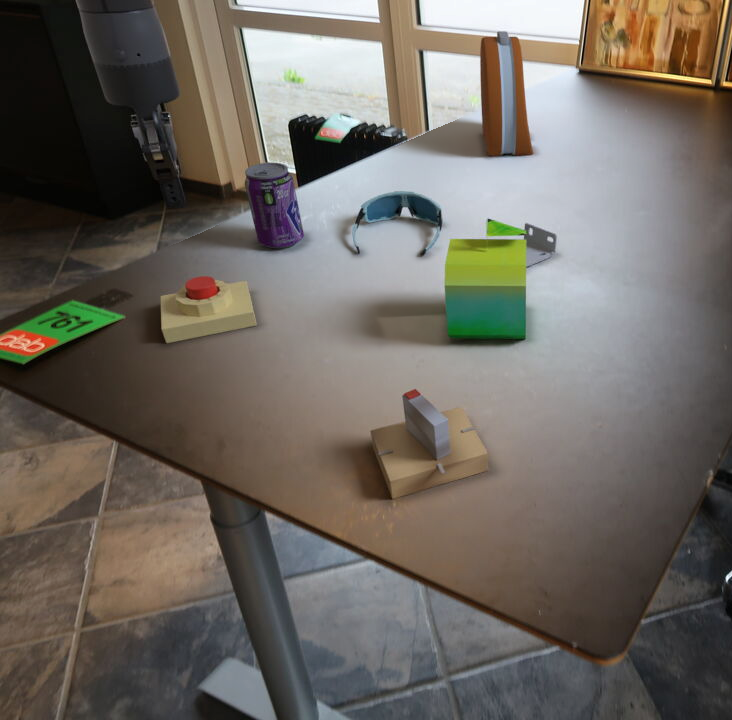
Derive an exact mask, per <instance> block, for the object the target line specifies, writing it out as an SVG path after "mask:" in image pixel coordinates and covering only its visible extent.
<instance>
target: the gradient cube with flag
mask: <svg viewBox="0 0 732 720" xmlns="http://www.w3.org/2000/svg"><path fill="white" fill-rule="evenodd" d="M485 227H486V228H485V231H486V234H485V235H486V237H511V236H512V237H514V236H515V237H516V236H517V237H518V236H519V237H520V236H524V235H526V230H524V229H522V228H519V227H516V226H513V225H510V224H507V223H504V222H501V221H498V220H494V219H491V218H487V219H486V220H485ZM526 242H527V241H526V239H524V238H523V239H522V238H521V239H520V238H519V239H516V238H515V239H514V238H512V239H511V238H510V239H509V238H497V239H496V238H450V239H449V243H448V247H447V253H446V258H445V262H444V296H445V297H444V298H445V311H446V312H445V313H446V314H445V315H446V327H447V335H448V337H449V339H450V340H451V339H452V340H454V339H455V340H456V339H457V340H458V339H461V340H463V339H464V340H466V339H467V340H470V339H471V340H481V339H482V340H526V337H527V336H526V335H527V333H526V332H527V331H526V330H527V267H526Z"/></svg>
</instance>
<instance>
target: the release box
mask: <svg viewBox="0 0 732 720" xmlns="http://www.w3.org/2000/svg"><path fill="white" fill-rule="evenodd" d="M214 280H215V283H216V286H217V290H218V293H217V294H216V295H215V296H213V297H210V298H208V299H203V300H191V299H190V298H189V297H188V294H187V290H186V287H185V285H184V286H182V287H181V288H180V289H179V290H178V291H177V292H175V293H169V294H165V295H163V294H162V295H160V327H161V328H160V329H161V332H162V334H163V338H164V342H165V343H166V344H172V343H176V342H182V341H186V340H190V339H196V338H200V337H201V338H202V337H205V336H211V335H216V334H222V333H226V332H231V331H236V330H241V329H247V328H251V327H257V326H258V325H257V320H256V315H255V311H254V306H253V302H252V297H251V294H250V290H249V289H250V288H249V286H248V281H247V280H242V281H237V282H232V283H226V282H225V281H223V280H219V279H214Z"/></svg>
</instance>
